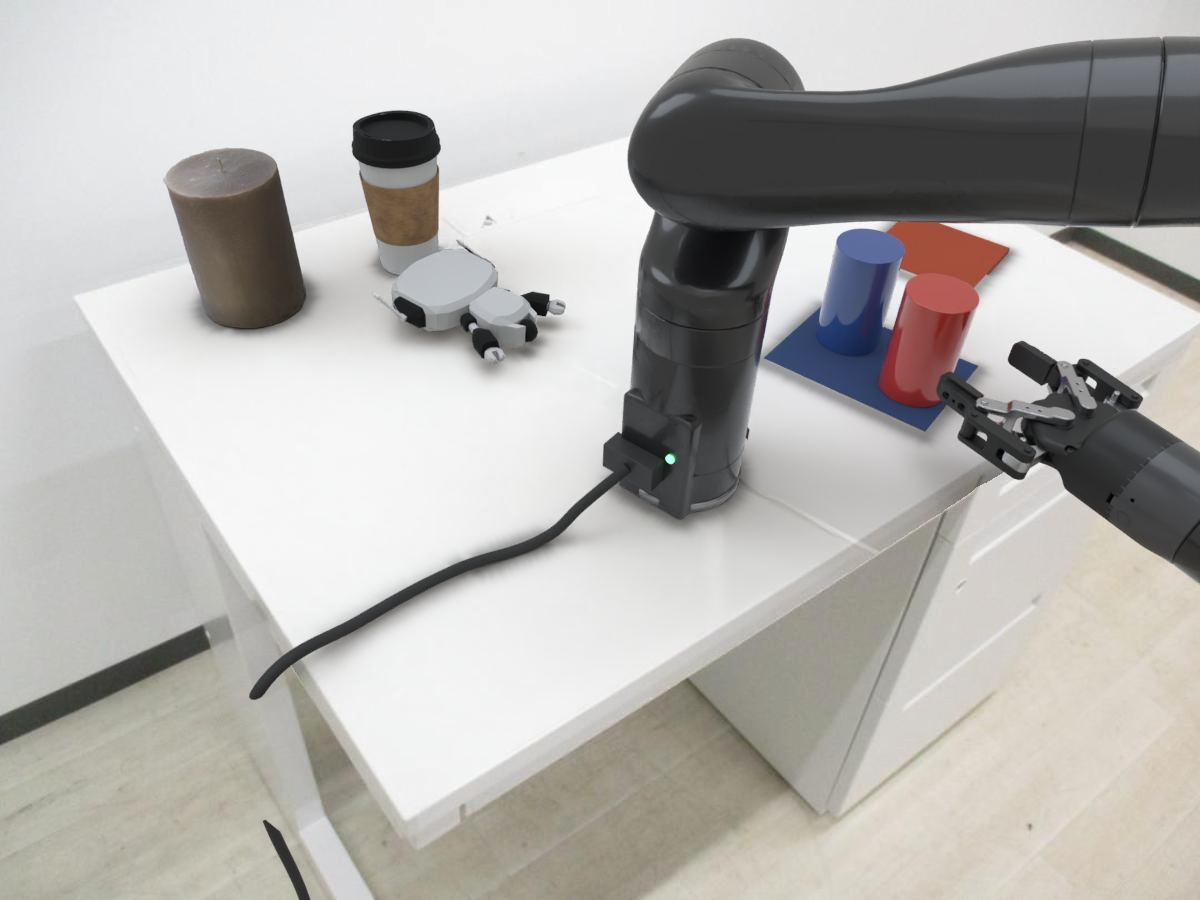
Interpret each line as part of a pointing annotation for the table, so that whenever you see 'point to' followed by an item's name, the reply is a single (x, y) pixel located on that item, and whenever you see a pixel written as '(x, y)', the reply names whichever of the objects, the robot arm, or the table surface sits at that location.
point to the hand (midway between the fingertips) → (977, 365)
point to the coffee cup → (400, 184)
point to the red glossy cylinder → (927, 338)
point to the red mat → (946, 251)
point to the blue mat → (852, 372)
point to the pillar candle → (237, 236)
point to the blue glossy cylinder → (859, 291)
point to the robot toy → (468, 301)
